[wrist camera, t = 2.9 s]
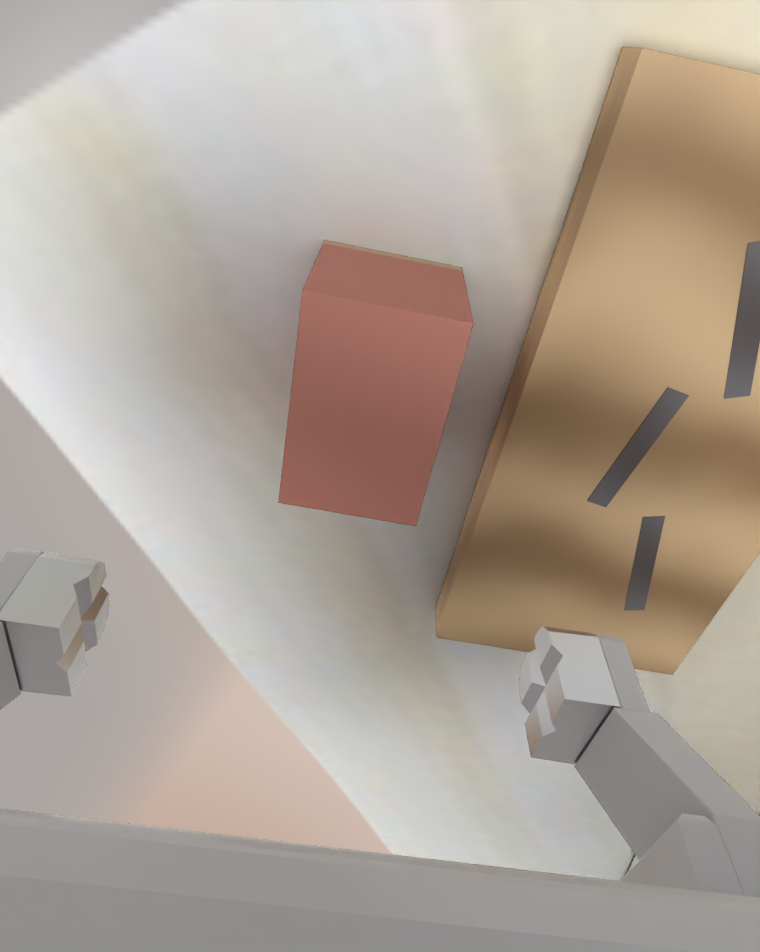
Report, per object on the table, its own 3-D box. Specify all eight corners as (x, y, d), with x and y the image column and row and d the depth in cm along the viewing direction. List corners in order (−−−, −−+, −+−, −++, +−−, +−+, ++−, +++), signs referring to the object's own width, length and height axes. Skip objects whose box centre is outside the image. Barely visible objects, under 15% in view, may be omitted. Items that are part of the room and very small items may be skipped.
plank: (659, 643, 30) (672, 675, 29) (435, 607, 29) (436, 638, 28) (999, 131, 18) (1054, 140, 16) (622, 46, 17) (642, 48, 15)
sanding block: (415, 444, 25) (416, 526, 20) (301, 424, 24) (278, 502, 20) (461, 266, 21) (473, 323, 16) (324, 238, 20) (302, 290, 16)
